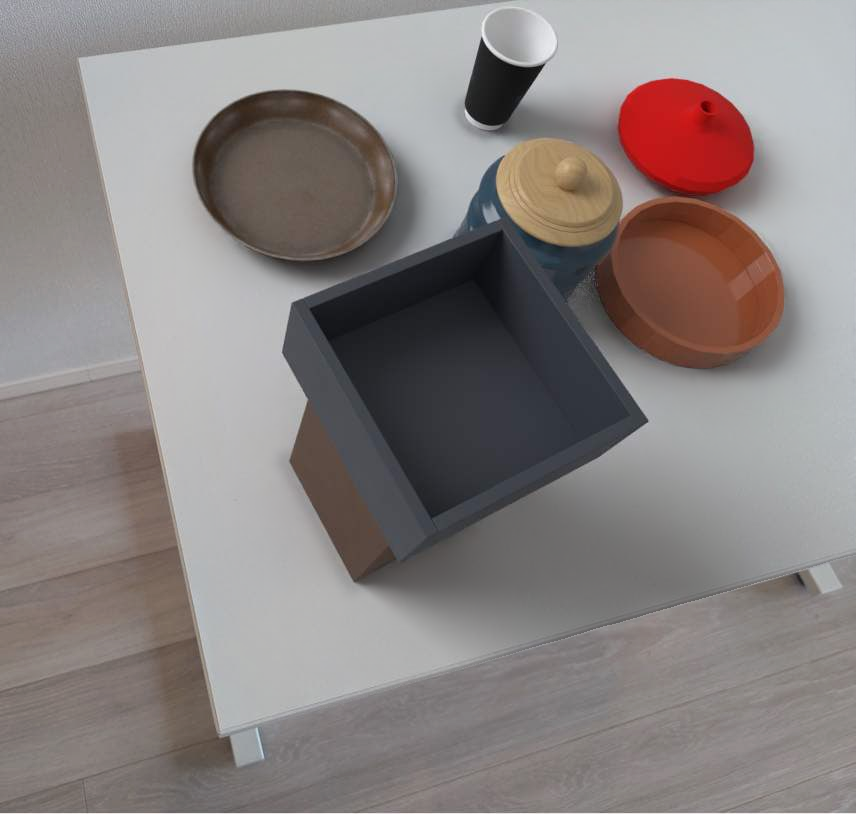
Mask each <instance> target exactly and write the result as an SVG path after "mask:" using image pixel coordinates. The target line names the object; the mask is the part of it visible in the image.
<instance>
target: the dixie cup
mask: <svg viewBox="0 0 856 814" xmlns="http://www.w3.org/2000/svg"><path fill="white" fill-rule="evenodd" d="M480 32H481V33H480V34H481V36H480V41H479V43H478V49H477V52H476V56H475V59H474V64H473V68H472V73H471V75H470V76H471V77H470V79H469V83H468V87H467V90H466V94H465V98H464V116H465V119H466V120H467V121H468V122H469V123H470V125H472V126H474V127H475V128H476V129H478V130H483V131H496V130H498V129H500V128H502V127H503V125H504V124H505V123H506V122H508V121H509V119H510V118H511V117H512V115H513V114H514V113H515V111H516V110H517V108H518V106H520V103H521V102H522V101H523V99H524V97H525V96H526V95H527V93H528V91H529V90H530V89H531V87H532V85H533V84H534V82H535V81H536V79H537V78H538V76H539V75H540V73H541V72H542V70H543V69H544V67H545V66H546V65H547V63H548V62H549V61H551V60H552V59H553V58H554V57H555V55H556V53H557V51H558V49H559V48H558V47H559V39H558V35H557V33H556V30H555V29H554V27H553V26H552V24H551V23H550V22H549V21H548V20H547V19H546V18H544V16H542V15H540V14H539V13H537V12H536V11H533V10H531V9H528V8H525V7H521V6H509V5H508V6H502V7H498V8H496V9H494V10H492V11H491V12H489V13H488V14H487V15H486V16H485V18H484V19H483V21H482V23H481V31H480Z"/></svg>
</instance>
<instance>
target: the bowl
mask: <svg viewBox="0 0 856 814" xmlns="http://www.w3.org/2000/svg"><path fill="white" fill-rule="evenodd" d="M595 282H596V287H597V292H598V294H599V298H600V300H601V303H602V306H604V309H605V311H606V313H607V315H608V316H609V318H610V319H611V321H612V322H613V324H614V325H615V326H616V327H617V329H618V330H619V331H620V332H621V333H622V334H623V335H624V336H625V337H626V338H627V339H628V340H629V341H631V342H632V343H633V344H634V345H635V346H637V347H638V348H639V349H641V350H642V351H644V352H645V353H646V354H649V355H651V356H653V357H654V358H656V359H658V360H661V361H663V362H665V363H668V364H671V365H675V366H678V367H683V368H690V369H709V368H710V369H712V368H717V367H721V366H725V365H728V364H730V363H732V362H735V361H736V360H738V359H740V358H742V357H744V356H745V355H746V354H748V353H749V352H751V351H752V350H753V349H755V348H756V347H758V346H759V345H761V344H762V343H764V342H765V341H766V340H767V338H768V337H770V336H771V334H772V333H773V332H774V331H775V330H776V329H777V327H778V325H779V322H780V320H781V318H782V315H783V314H784V310H785V299H786V298H785V297H786V289H785V284H784V280H783V275H782V271H781V269H780V267H779V265H778V263H777V261H776V258H775V256H774V255H773V253H772V251H771V249H770V248H769V247H768V246H767V245H766V243H765V242H764V241H763V240H762V238H761V237H760V236H759V235H758V234H757V232H756V231H755V230H754V229H752V228H751V227H750V226H749V225H748V224H747V223H745V222H744V221H743V220H742V219H741V218H739V217H738V216H736V215H735V214H733V213H731V212H730V211H727V210H726V209H724V208H722V207H720V206H719V205H715V204H713V203H710V202H707V201H703V200H701V199H699V198H694V197H684V196H675V195H672V196H666V197H665V196H664V197H656V198H652V199H650V200H648V201H646V202H643V203H640V204H638V205H636V206H635V207H633V208H632V209H631V210H630V211H629V212H628V213H627V214H625V216H623V217H622V218H621V219H620V220H619V229H618V234H617V237H616V240H615V242H614V244H613V246H612V247H611V249H610V250H609V251H608V253H607V254H606V255H605V256H604V257H602V258H601V259H600V260H598V262H597V264H596V266H595Z"/></svg>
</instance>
